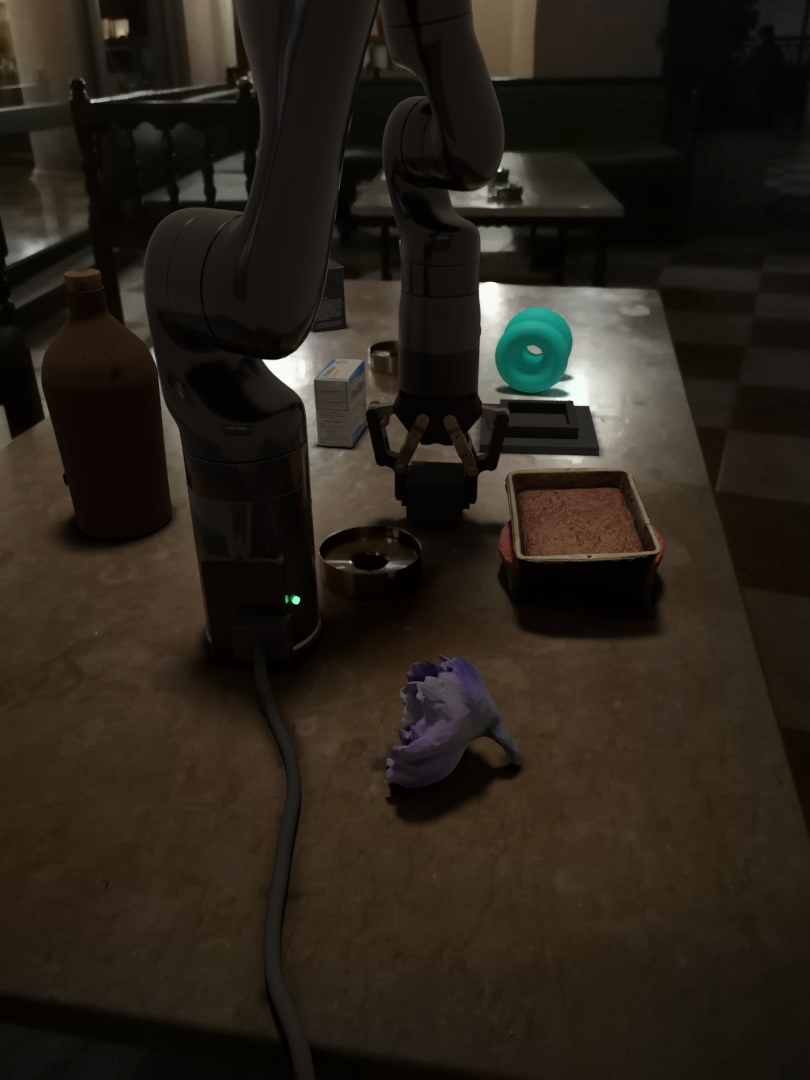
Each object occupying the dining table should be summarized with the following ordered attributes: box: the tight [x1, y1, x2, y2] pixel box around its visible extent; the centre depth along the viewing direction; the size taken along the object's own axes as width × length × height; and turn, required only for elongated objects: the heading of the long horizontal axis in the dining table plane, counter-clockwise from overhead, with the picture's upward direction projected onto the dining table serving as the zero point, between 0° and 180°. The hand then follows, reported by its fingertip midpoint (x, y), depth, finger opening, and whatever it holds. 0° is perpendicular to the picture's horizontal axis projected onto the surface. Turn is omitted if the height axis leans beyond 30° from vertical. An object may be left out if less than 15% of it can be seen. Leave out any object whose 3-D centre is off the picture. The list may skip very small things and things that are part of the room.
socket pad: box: [478, 398, 600, 456], centre depth 113 cm, size 14×14×2 cm
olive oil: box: [40, 268, 173, 541], centre depth 87 cm, size 11×11×25 cm
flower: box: [384, 652, 522, 790], centre depth 60 cm, size 9×9×10 cm
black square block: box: [405, 460, 464, 523], centre depth 90 cm, size 6×6×4 cm
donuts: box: [494, 306, 574, 394], centre depth 127 cm, size 10×10×10 cm
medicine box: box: [313, 358, 368, 448], centre depth 111 cm, size 8×4×9 cm, turn 168°
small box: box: [311, 258, 348, 333], centre depth 156 cm, size 11×6×10 cm, turn 25°
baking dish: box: [497, 467, 665, 617], centre depth 81 cm, size 14×18×10 cm
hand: (436, 504), depth 91 cm, fingers closed on black square block, 5 cm apart
